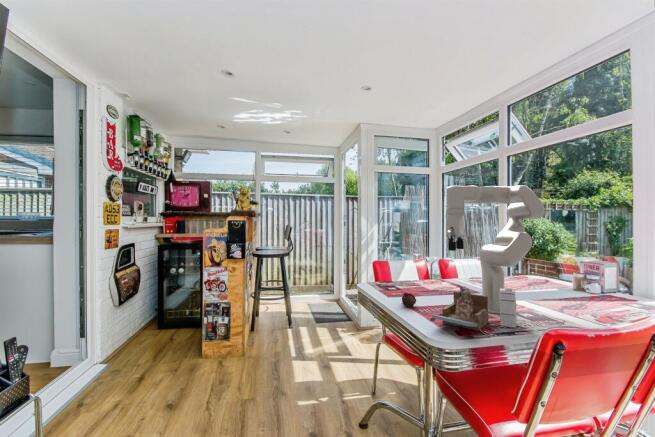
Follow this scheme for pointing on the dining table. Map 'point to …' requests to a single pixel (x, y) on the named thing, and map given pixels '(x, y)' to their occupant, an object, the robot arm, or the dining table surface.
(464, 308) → the figurine
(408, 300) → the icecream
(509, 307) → the syrup box
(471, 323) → the panel
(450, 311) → the brown wooden box
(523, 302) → the dining table surface
